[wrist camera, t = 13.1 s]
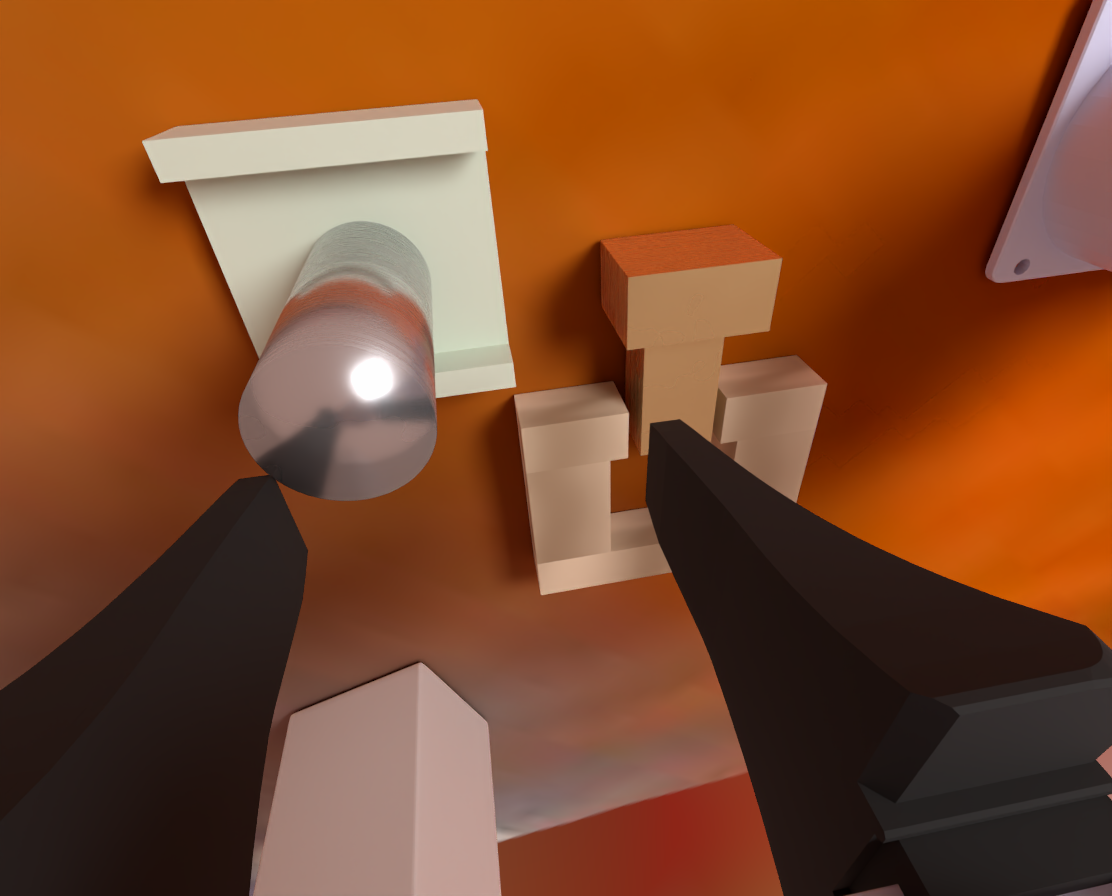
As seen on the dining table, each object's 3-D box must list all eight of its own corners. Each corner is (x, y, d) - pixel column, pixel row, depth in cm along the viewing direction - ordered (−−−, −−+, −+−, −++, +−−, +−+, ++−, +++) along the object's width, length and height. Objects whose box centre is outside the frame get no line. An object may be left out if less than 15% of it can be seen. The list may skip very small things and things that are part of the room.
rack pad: (477, 99, 14) (482, 109, 12) (508, 355, 18) (516, 386, 17) (176, 126, 13) (141, 141, 12) (281, 385, 18) (267, 421, 16)
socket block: (796, 354, 20) (827, 383, 19) (761, 518, 25) (783, 552, 23) (513, 394, 19) (521, 428, 18) (533, 557, 24) (540, 595, 22)
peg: (406, 206, 14) (397, 321, 9) (447, 321, 16) (460, 473, 11) (282, 239, 14) (196, 377, 9) (337, 350, 16) (295, 520, 11)
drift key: (733, 224, 17) (782, 258, 14) (710, 409, 21) (746, 459, 18) (600, 240, 16) (628, 277, 14) (602, 425, 20) (625, 478, 18)
